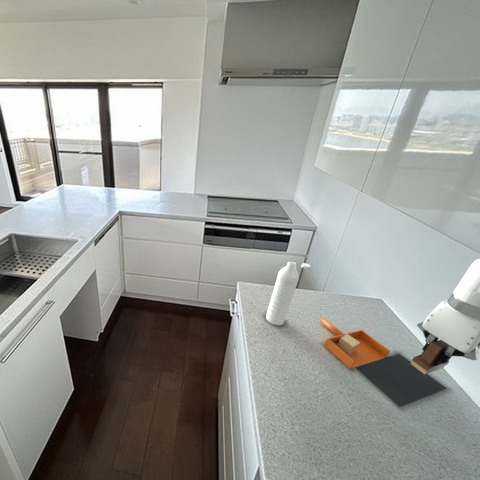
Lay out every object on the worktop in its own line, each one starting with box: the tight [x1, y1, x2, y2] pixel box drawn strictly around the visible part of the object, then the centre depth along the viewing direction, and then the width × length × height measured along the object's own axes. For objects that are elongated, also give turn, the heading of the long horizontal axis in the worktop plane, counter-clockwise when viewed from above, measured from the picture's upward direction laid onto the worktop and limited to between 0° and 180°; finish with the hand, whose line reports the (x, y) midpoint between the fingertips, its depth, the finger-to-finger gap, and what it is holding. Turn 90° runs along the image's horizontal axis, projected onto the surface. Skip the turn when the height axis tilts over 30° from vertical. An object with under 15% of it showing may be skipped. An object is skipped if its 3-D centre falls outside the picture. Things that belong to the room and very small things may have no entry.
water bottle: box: [265, 260, 311, 326], centre depth 91 cm, size 9×6×25 cm
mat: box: [354, 353, 447, 408], centre depth 76 cm, size 20×12×1 cm, turn 107°
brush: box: [410, 339, 450, 375], centre depth 71 cm, size 8×4×9 cm, turn 107°
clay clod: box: [337, 333, 360, 355], centre depth 84 cm, size 4×4×4 cm
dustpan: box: [320, 317, 391, 369], centre depth 88 cm, size 18×16×3 cm
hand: (432, 357), depth 71 cm, fingers closed on brush, 2 cm apart
